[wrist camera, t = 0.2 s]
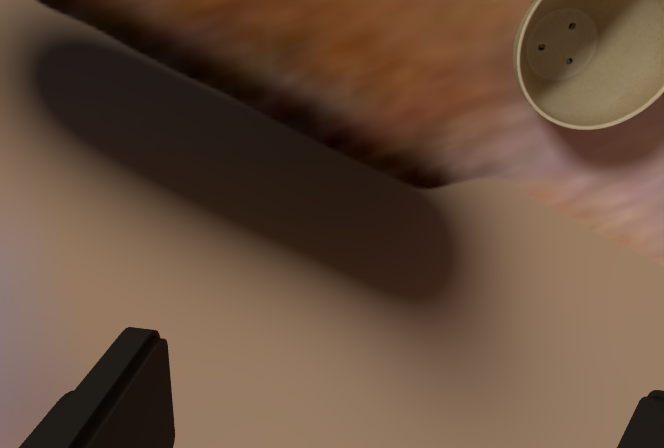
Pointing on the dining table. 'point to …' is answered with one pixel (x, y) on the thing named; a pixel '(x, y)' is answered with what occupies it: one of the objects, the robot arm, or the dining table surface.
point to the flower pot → (590, 60)
